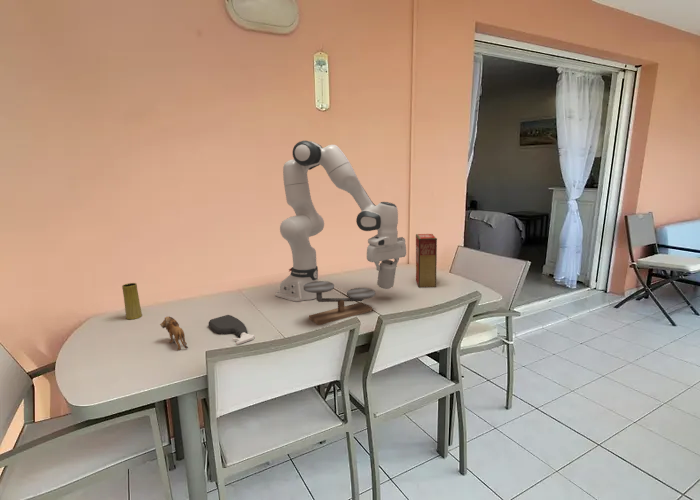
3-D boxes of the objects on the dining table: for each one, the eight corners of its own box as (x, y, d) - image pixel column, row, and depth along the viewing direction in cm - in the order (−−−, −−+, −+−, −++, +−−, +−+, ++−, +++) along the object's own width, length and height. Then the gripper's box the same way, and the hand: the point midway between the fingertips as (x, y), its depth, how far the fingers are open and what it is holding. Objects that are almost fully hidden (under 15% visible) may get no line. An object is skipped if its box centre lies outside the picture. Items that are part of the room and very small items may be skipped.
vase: (124, 316, 165) (119, 284, 162) (140, 313, 169) (135, 281, 166) (127, 320, 160) (122, 288, 157) (143, 317, 164) (139, 284, 161)
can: (392, 290, 174) (395, 266, 169) (375, 288, 175) (378, 263, 170) (394, 284, 180) (397, 260, 176) (378, 281, 182) (381, 257, 177)
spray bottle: (232, 320, 160) (261, 339, 142) (206, 327, 153) (233, 349, 135) (231, 313, 159) (261, 332, 141) (205, 320, 152) (233, 341, 134)
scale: (300, 319, 158) (298, 284, 154) (364, 302, 174) (363, 271, 171) (314, 328, 148) (312, 292, 145) (380, 310, 165) (380, 277, 162)
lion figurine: (160, 341, 141) (157, 317, 139) (175, 336, 145) (172, 313, 143) (180, 352, 131) (177, 327, 130) (195, 346, 135) (192, 322, 134)
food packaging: (414, 279, 207) (415, 233, 201) (432, 279, 206) (433, 233, 201) (418, 287, 194) (418, 238, 188) (437, 287, 193) (438, 238, 188)
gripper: (400, 235, 180) (399, 264, 183) (364, 240, 169) (364, 270, 172) (409, 237, 175) (408, 267, 178) (373, 242, 164) (372, 274, 167)
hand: (386, 268), depth 175 cm, fingers closed on can, 7 cm apart
